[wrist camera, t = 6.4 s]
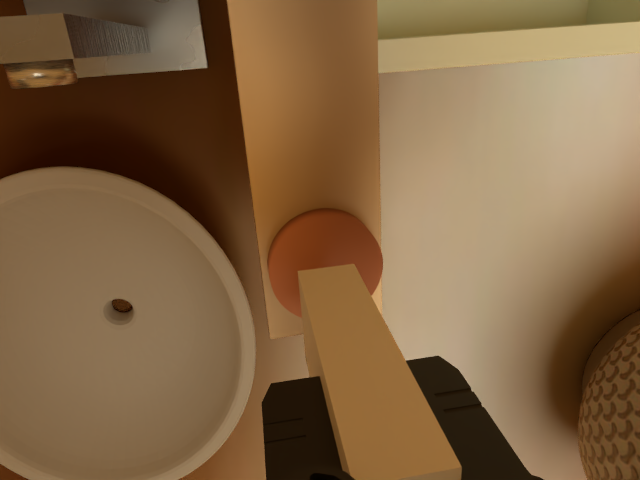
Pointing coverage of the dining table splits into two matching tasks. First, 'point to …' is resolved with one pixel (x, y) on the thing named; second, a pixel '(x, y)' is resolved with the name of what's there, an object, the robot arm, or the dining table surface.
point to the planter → (612, 405)
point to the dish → (114, 331)
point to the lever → (310, 142)
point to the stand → (99, 40)
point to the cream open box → (501, 31)
